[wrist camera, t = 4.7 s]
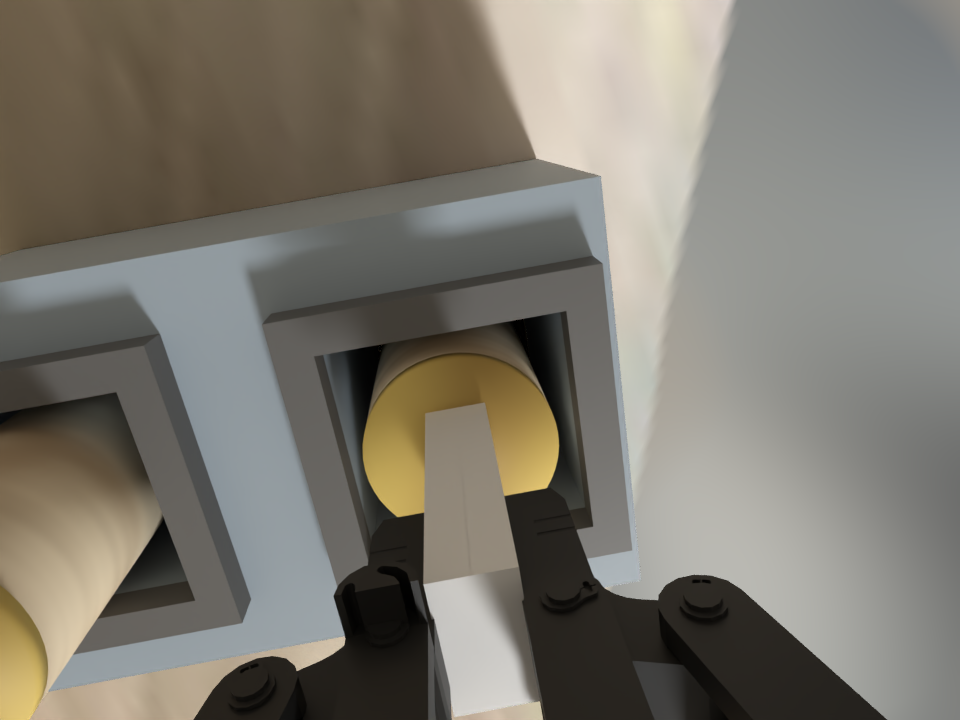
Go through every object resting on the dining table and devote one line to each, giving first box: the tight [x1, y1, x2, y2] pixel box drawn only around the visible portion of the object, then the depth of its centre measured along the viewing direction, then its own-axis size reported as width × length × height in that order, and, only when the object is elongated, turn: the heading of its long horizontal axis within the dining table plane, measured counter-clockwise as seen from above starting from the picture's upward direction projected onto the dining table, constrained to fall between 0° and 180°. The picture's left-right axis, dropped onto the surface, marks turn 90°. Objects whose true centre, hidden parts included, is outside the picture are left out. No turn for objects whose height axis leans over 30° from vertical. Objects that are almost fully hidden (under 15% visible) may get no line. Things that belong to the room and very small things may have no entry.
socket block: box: [0, 159, 641, 692], centre depth 22 cm, size 20×12×11 cm, turn 99°
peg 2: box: [363, 321, 559, 517], centre depth 21 cm, size 5×5×10 cm
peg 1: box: [0, 392, 164, 720], centre depth 17 cm, size 5×5×10 cm
